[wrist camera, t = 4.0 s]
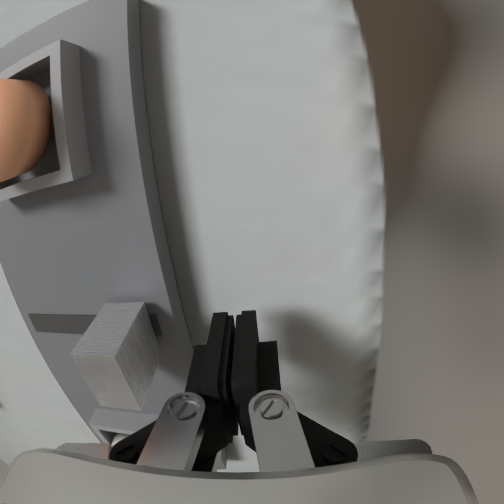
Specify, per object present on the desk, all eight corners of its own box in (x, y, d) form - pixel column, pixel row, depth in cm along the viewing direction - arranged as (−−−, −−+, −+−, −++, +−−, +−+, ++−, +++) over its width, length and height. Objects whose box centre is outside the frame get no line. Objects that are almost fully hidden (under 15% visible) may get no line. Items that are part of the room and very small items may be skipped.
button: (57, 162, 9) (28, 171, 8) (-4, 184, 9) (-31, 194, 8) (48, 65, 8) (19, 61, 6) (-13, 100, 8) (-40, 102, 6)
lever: (144, 301, 12) (114, 356, 9) (161, 353, 14) (141, 410, 10) (105, 303, 13) (70, 353, 9) (125, 353, 14) (100, 406, 10)
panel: (226, 454, 21) (224, 484, 18) (117, 445, 21) (109, 470, 18) (139, -2, 9) (112, -28, 6) (-12, 71, 9) (-48, 70, 7)
